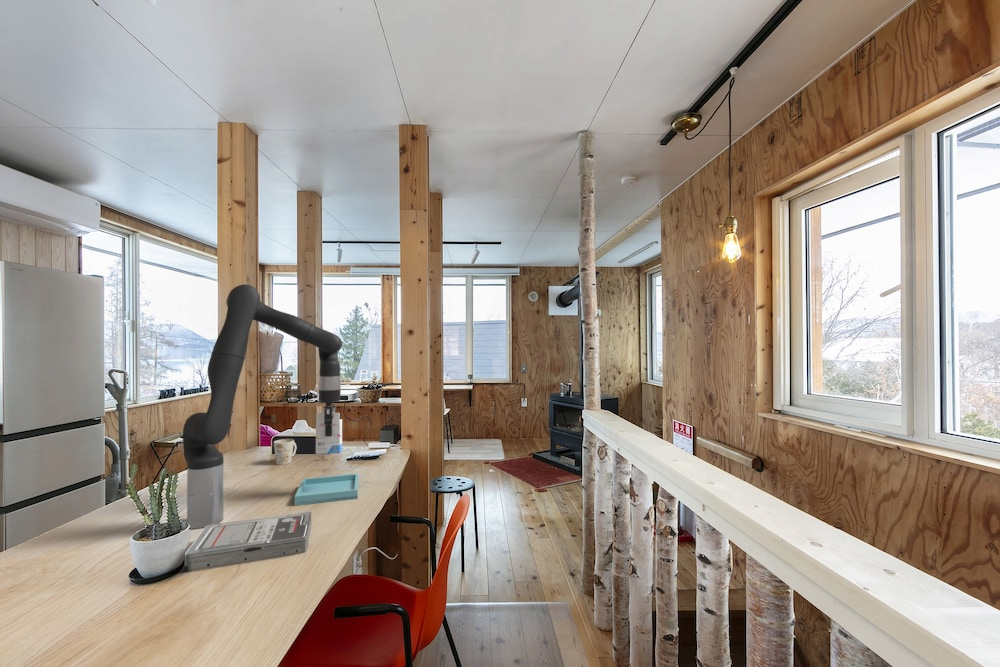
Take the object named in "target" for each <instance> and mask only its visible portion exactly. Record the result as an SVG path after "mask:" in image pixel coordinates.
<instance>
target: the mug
mask: <svg viewBox="0 0 1000 667" xmlns="http://www.w3.org/2000/svg"><path fill="white" fill-rule="evenodd" d="M297 447H298V446H297V444H296V442H295V439H293V438H283V439H278V440H274V441H273V448H274V449H273V450H274V455H275V461H276V464H277V465H288V464H291V463H292V459H293V457H294V456H295V455H296V451H297Z"/></svg>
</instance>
